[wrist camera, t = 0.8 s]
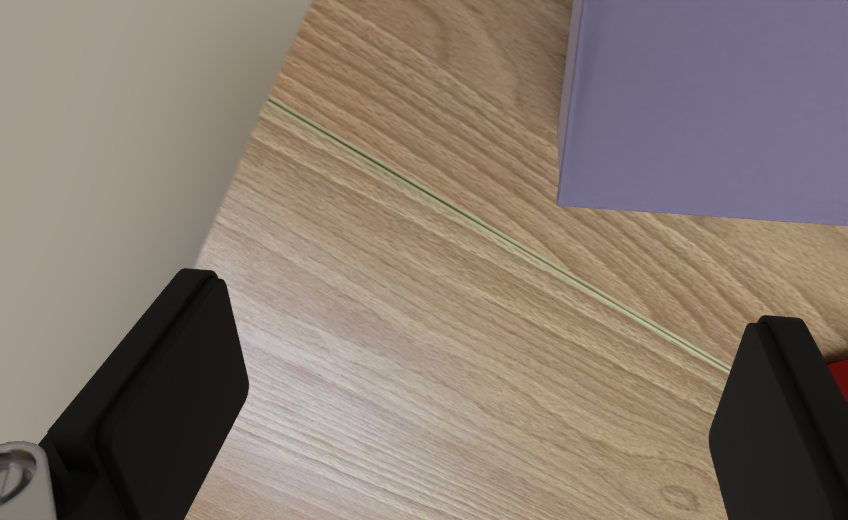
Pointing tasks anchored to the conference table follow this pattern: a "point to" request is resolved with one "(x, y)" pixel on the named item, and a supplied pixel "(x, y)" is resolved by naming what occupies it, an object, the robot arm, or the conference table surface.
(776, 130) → the lavender lidded box
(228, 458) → the conference table surface
